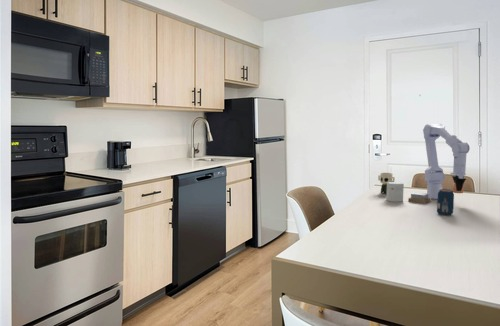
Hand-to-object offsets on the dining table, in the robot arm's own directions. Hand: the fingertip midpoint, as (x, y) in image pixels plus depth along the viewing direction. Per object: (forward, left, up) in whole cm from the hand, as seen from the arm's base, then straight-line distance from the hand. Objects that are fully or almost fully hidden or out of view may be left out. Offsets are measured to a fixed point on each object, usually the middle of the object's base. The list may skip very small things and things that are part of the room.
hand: (458, 189), depth 194 cm
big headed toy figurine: (-4, -42, -9) cm, 43 cm away
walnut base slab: (+5, -18, -9) cm, 21 cm away
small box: (+13, -29, -9) cm, 33 cm away
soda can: (+27, +2, -9) cm, 28 cm away
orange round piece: (0, 0, -1) cm, 1 cm away
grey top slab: (+5, -18, -6) cm, 20 cm away
